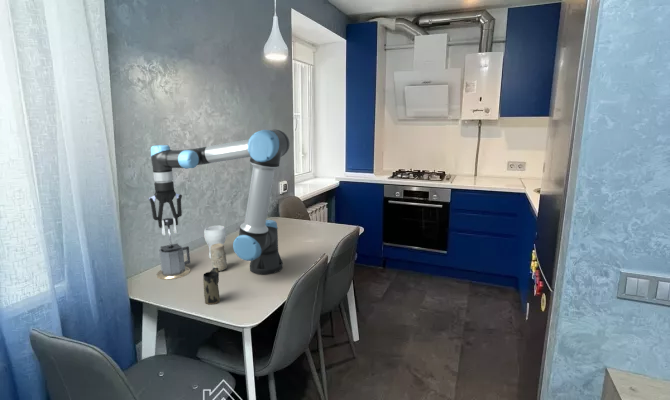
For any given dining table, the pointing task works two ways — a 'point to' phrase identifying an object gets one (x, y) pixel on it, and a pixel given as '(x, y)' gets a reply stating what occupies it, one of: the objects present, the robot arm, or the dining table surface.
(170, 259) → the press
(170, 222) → the black knob on rod
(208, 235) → the cup
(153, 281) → the dining table surface
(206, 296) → the mug
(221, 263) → the carving
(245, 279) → the dining table surface
